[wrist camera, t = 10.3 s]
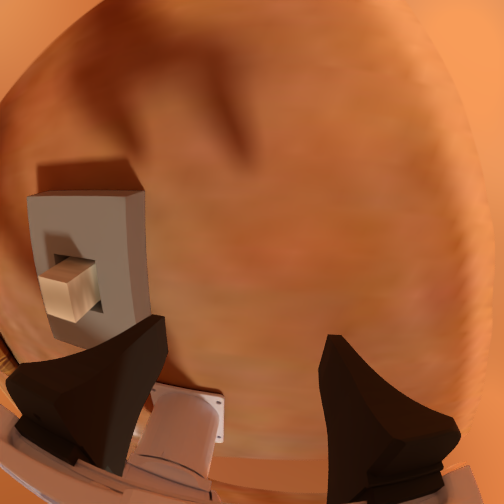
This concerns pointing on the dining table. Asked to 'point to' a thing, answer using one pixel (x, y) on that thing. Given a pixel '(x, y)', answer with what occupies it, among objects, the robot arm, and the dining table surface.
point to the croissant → (6, 360)
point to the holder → (95, 256)
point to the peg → (70, 288)
